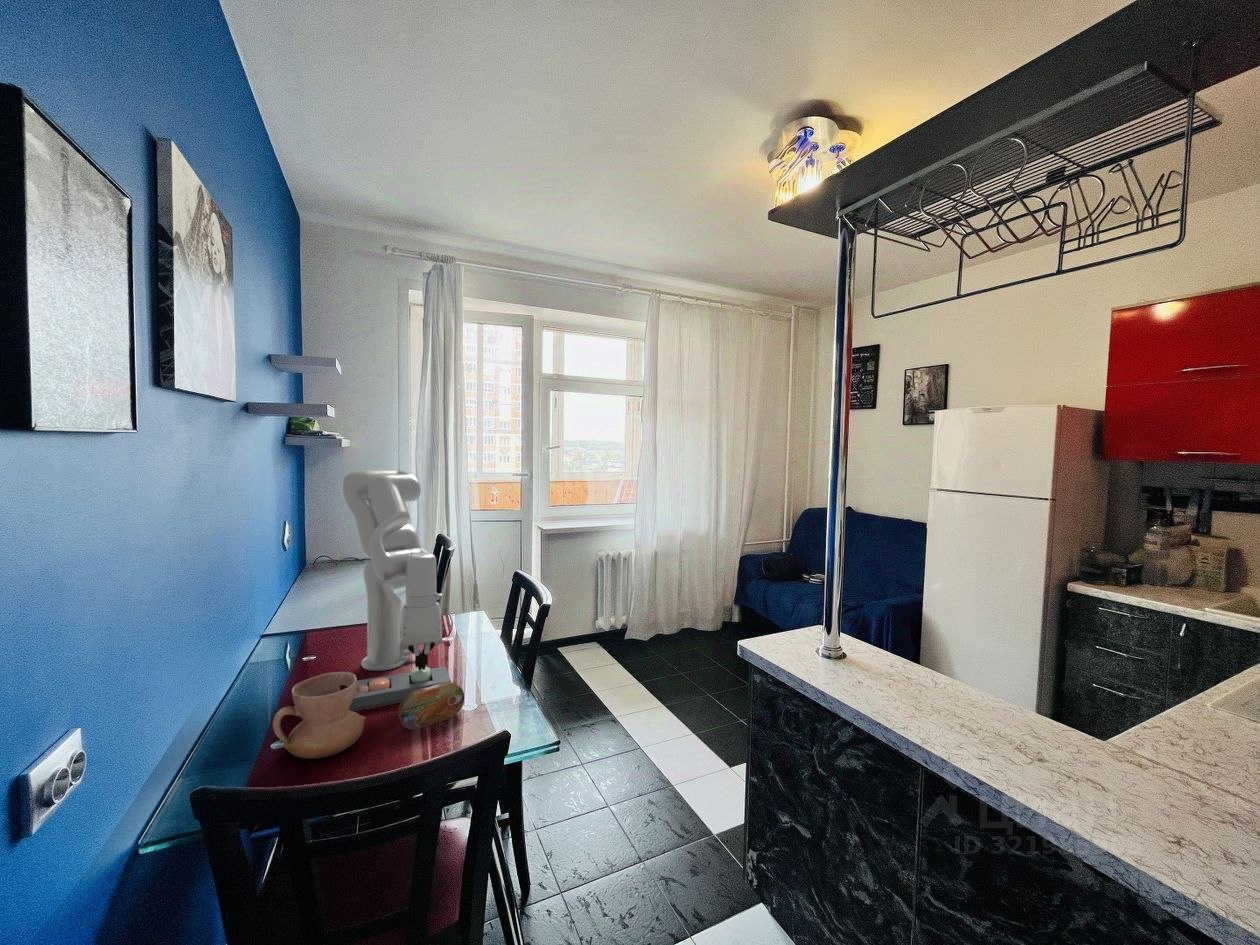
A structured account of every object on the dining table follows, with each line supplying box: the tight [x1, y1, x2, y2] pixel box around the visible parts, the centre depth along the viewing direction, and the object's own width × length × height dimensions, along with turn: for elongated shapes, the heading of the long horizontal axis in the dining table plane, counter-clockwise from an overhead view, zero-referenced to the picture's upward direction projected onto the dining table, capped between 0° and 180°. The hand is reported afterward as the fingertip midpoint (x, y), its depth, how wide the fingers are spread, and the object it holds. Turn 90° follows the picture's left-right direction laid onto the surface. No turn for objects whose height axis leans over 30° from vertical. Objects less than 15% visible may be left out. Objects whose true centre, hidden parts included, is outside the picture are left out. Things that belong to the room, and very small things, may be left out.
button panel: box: [348, 665, 452, 712], centre depth 136 cm, size 24×10×4 cm, turn 117°
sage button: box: [410, 666, 431, 684], centre depth 138 cm, size 5×5×3 cm
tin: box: [397, 681, 465, 731], centre depth 123 cm, size 15×3×8 cm, turn 130°
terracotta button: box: [369, 678, 390, 692], centre depth 134 cm, size 5×5×3 cm
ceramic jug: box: [272, 671, 369, 760], centre depth 112 cm, size 18×14×14 cm
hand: (421, 667), depth 138 cm, fingers closed
